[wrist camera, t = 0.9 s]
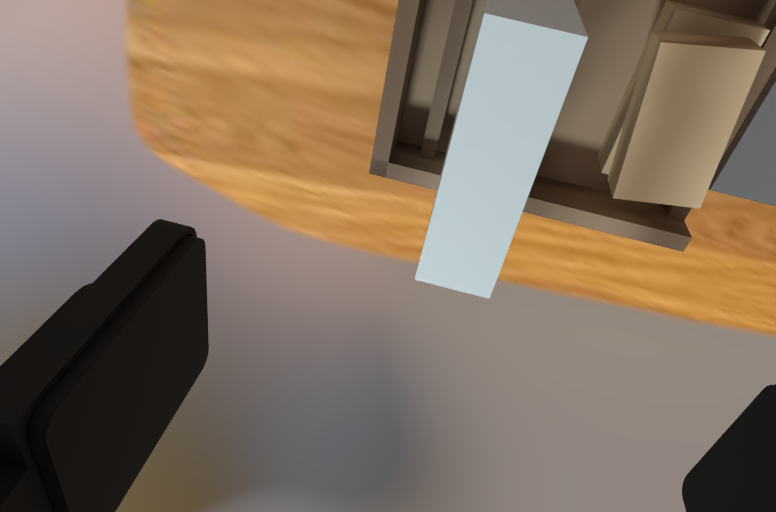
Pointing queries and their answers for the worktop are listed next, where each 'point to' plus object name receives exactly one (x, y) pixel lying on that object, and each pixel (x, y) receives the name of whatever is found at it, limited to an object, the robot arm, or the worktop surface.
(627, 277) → the worktop surface
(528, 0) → the board
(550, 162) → the rack
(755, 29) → the offcut low
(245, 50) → the worktop surface
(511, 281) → the worktop surface
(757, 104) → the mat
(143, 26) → the worktop surface
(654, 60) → the offcut top
